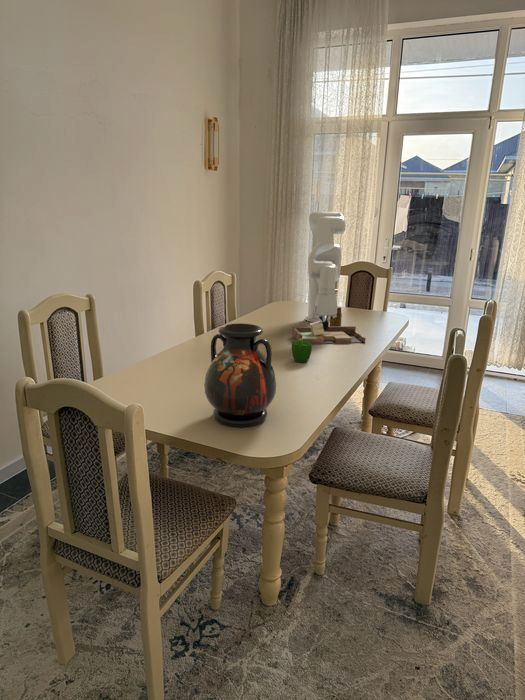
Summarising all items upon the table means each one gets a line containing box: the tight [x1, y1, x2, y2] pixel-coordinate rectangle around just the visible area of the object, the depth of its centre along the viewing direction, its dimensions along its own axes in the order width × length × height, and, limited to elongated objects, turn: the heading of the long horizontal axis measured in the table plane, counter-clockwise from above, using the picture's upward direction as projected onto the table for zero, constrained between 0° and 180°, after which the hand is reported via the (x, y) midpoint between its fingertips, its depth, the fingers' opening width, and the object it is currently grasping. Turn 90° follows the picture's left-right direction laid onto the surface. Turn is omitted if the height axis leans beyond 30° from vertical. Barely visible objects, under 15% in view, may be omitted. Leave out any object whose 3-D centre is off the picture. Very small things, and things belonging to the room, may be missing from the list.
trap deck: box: [292, 325, 367, 345], centre depth 238 cm, size 15×32×4 cm, turn 100°
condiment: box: [329, 306, 343, 327], centre depth 256 cm, size 7×8×12 cm
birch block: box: [309, 321, 324, 336], centre depth 237 cm, size 5×5×5 cm
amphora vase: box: [203, 323, 277, 428], centre depth 146 cm, size 22×22×28 cm
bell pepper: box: [291, 339, 313, 363], centre depth 204 cm, size 8×8×10 cm
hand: (325, 329), depth 238 cm, fingers closed
